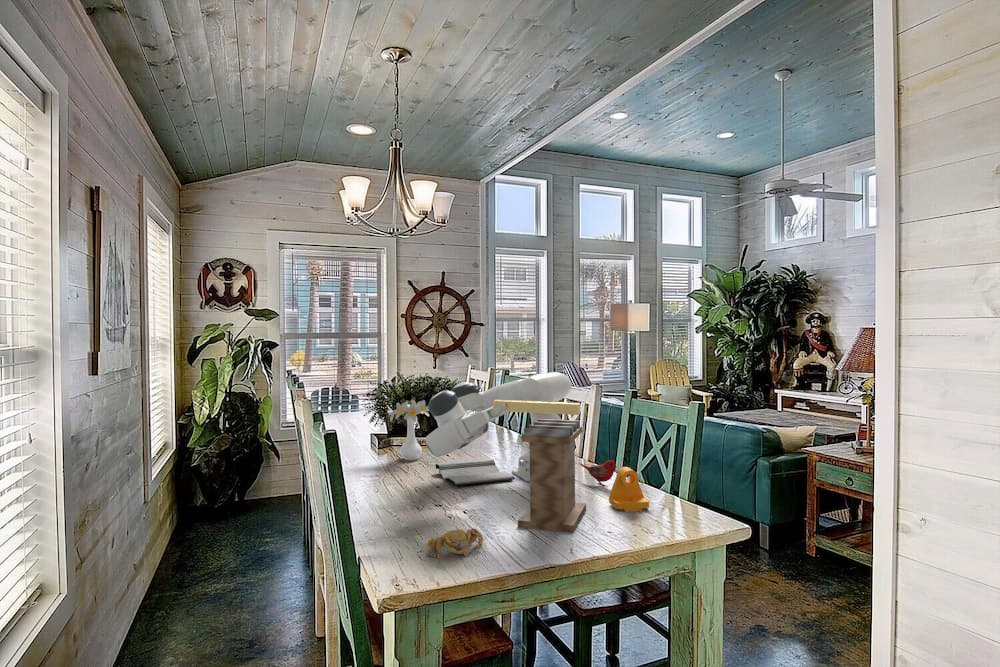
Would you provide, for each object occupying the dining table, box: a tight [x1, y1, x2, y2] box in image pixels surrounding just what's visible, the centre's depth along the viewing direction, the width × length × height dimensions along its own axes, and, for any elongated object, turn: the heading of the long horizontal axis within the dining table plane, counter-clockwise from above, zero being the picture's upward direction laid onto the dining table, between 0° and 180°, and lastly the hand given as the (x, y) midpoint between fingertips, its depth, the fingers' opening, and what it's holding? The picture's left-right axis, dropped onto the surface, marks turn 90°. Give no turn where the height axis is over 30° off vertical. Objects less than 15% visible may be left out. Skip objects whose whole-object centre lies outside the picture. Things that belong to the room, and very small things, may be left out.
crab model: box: [426, 528, 484, 558], centre depth 158 cm, size 15×13×6 cm
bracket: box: [608, 466, 650, 512], centre depth 192 cm, size 11×7×12 cm, turn 98°
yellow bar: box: [493, 400, 581, 416], centre depth 182 cm, size 26×3×3 cm, turn 72°
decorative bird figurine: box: [579, 459, 618, 487], centre depth 218 cm, size 3×18×10 cm, turn 39°
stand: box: [517, 419, 587, 534], centre depth 182 cm, size 16×21×28 cm
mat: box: [435, 458, 516, 488], centre depth 230 cm, size 23×24×5 cm
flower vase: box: [386, 399, 430, 461], centre depth 260 cm, size 13×18×25 cm
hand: (508, 404), depth 185 cm, fingers closed on yellow bar, 3 cm apart
